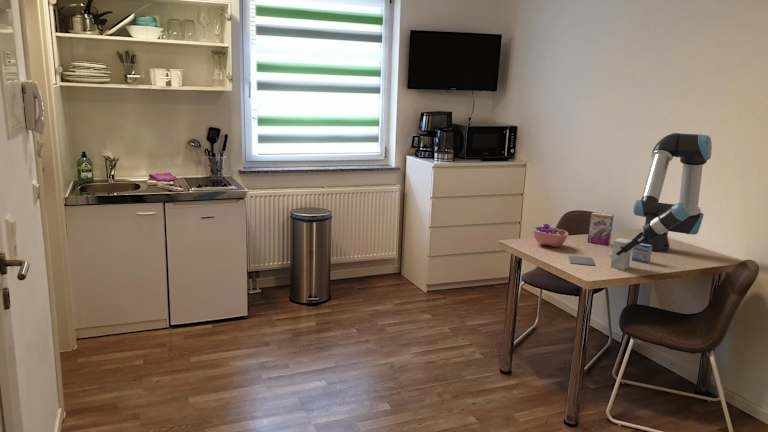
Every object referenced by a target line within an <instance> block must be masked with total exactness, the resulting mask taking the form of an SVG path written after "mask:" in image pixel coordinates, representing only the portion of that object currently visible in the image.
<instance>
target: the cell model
mask: <svg viewBox="0 0 768 432" xmlns="http://www.w3.org/2000/svg"><path fill="white" fill-rule="evenodd" d="M532 233H533V238H534V239H535V241H536V242H537V243H538V244H540V245H543V246H547V247H551V248H557V247H560V246H562V245H564V244H565V243H566V240H567V238H568V237H569V232H568V231H566V230H564V229H563V228H562V229H561V228H558V227H557V228H556V227H551V225H550V224H548V223H543V224H541V226H537V227H533V228H532Z"/></svg>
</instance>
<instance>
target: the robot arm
mask: <svg viewBox="0 0 768 432" xmlns="http://www.w3.org/2000/svg"><path fill="white" fill-rule="evenodd" d="M650 156H651V159H652V160H651V164H650V167H649V171H648V174H647V177H646V182H645V186H644V188H643V192H642V195H641V198H640V199H636V200H635V201H634V205H633V214H634V216H638V217H642V218H645V222H644V225H643V226H642V230H643V232H642V231H641V232H640V233H638V234H637V235H635V237H634V238H633V239H631V240H632V241H631V242H630V243H628V244H627V245H626V246H624V247H622V246H621V247H620V249H619V250H617V251H616V252H615V253H613V254H612V253H611V254H610V255H609V257H610V258H611V260H615V259H617V258H618V257H620V256H621V255H623V254H624V253H626V252H627V251H629V250H630V249H631V250H633V247H635V246H636V245H638V244H640V243H643V244H648V245H653V246H652V252H659V253H660V252H661V253H662V252H664V253H665V252H669V251H670V242H669V236H668V235H669V232H673V233H679V234H685V235H695V236H696V235H698V233H699V231H700V228H701V226H702V225H701V224H702V221H703V219H704V216H705V214H704V213H703V212H702V210H701V208H700V207H699V199H700V192H701V183H702V176H703V175H702V174H703V167H704V166H705V164H707V161H709V160H711V157H712V138H711V136H710V135H707V134H701V133H699V134H697V133H695V134H693V133H678V132H674V133H670V134H668V135H666V136H663V137H662V138H661V139H660V140H659V141H658V142H657V143H656V144H655V146H654V147H653V149H652V152H651V155H650ZM673 158H679V159H680V160H679V161H680V163H681V164H682V173H681V181H680V183H681V184H680V191H679V200H678V201H679V202H677V203H675V204H673V203H665V202H659V201H660V198H661V194H662V190H663V186H664V183H665V179H666V175H667V171H668V167H669V163H670V162H672V160H673Z"/></svg>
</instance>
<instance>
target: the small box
mask: <svg viewBox="0 0 768 432" xmlns="http://www.w3.org/2000/svg"><path fill="white" fill-rule="evenodd" d="M631 241H632V239H629V238H628V239H627V238H622V237H618V238H616V239H614V240H613V245H612V253H611V255H612V254H613V253H615V252H616V251H617V250H619V249H620V247H621V246H622V247H624V246H626V245H627V244H628V243H630V242H631ZM631 257H632V249H630V250H629V251H627V252H626V253H624V254H623V255H621V256H620V257H618V258H617V259H615V260H612V259H610V260H611V261H610V268H612V269H613V268H614V269H618V270H621V271H622V270H627V268H629V267H630V264H631Z"/></svg>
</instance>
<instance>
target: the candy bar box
mask: <svg viewBox="0 0 768 432" xmlns="http://www.w3.org/2000/svg"><path fill="white" fill-rule="evenodd" d="M613 224H614V215H613V214H607V213H600V212H593V211H592V213H590V219H589V227H588V235H587V243H591V244H597V245H602V246H608V247H609V245H610V244H611V239H612V232H613V230H612V229H613Z"/></svg>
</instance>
